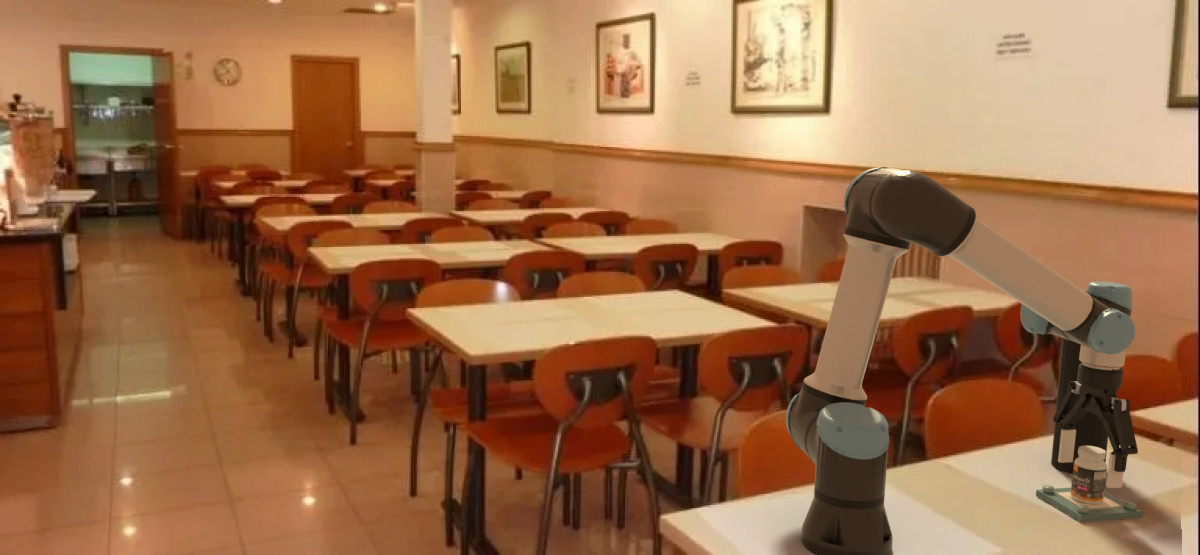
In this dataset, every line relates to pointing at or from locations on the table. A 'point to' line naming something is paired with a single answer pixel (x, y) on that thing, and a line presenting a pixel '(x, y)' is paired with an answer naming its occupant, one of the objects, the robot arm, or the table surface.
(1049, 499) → the plate
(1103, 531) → the table surface
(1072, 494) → the pill bottle
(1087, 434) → the vase
